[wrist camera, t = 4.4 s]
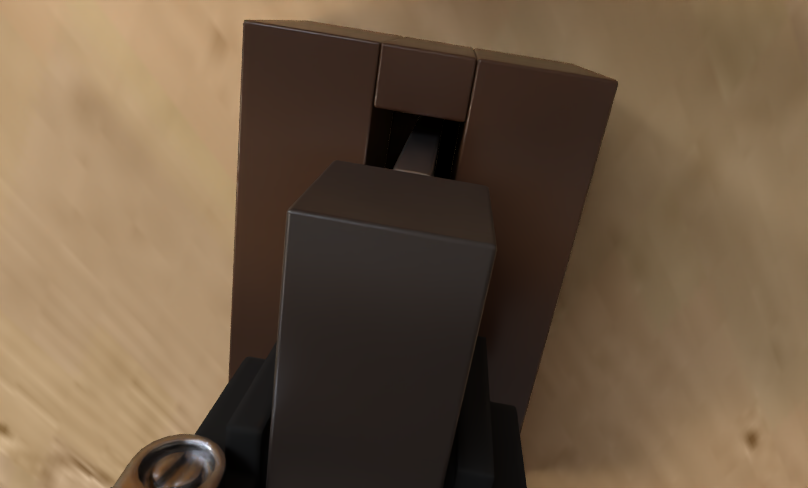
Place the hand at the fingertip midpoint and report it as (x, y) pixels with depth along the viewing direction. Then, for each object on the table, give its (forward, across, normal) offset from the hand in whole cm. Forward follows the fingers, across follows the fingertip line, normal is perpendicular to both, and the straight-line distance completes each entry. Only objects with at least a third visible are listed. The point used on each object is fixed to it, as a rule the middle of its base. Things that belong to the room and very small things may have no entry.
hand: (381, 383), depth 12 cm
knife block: (+5, 0, 0) cm, 5 cm away
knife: (+5, 0, 0) cm, 5 cm away
